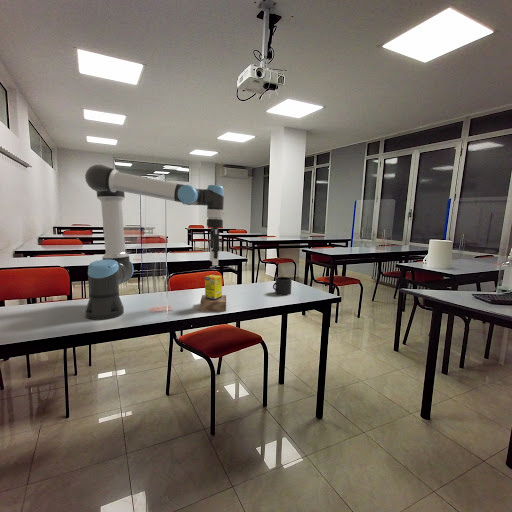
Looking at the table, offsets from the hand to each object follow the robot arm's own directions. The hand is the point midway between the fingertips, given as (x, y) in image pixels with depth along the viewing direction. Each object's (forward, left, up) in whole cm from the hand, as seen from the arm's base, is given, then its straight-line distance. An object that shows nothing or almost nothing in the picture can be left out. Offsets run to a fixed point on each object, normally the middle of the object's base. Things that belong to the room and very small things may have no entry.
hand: (213, 263), depth 144 cm
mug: (+42, +22, -22) cm, 53 cm away
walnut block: (0, 0, -22) cm, 22 cm away
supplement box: (0, 0, -17) cm, 17 cm away
